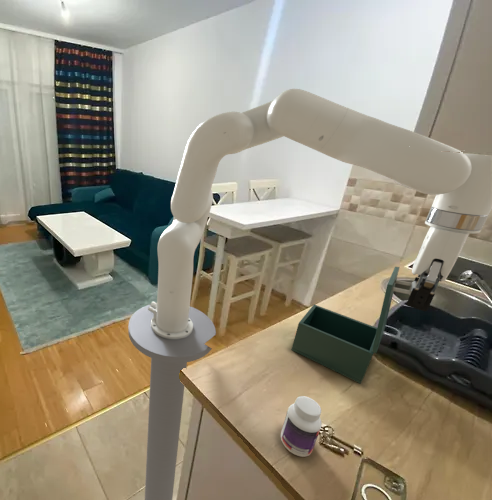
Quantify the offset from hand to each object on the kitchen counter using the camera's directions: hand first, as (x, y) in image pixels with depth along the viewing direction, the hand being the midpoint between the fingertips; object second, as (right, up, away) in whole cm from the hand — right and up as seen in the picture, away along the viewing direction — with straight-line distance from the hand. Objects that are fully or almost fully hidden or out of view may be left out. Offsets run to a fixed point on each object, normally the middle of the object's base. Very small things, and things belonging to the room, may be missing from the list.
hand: (417, 301), depth 61 cm
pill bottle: (-30, -25, -7) cm, 40 cm away
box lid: (-3, -2, +5) cm, 6 cm away
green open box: (-8, -17, +15) cm, 24 cm away
